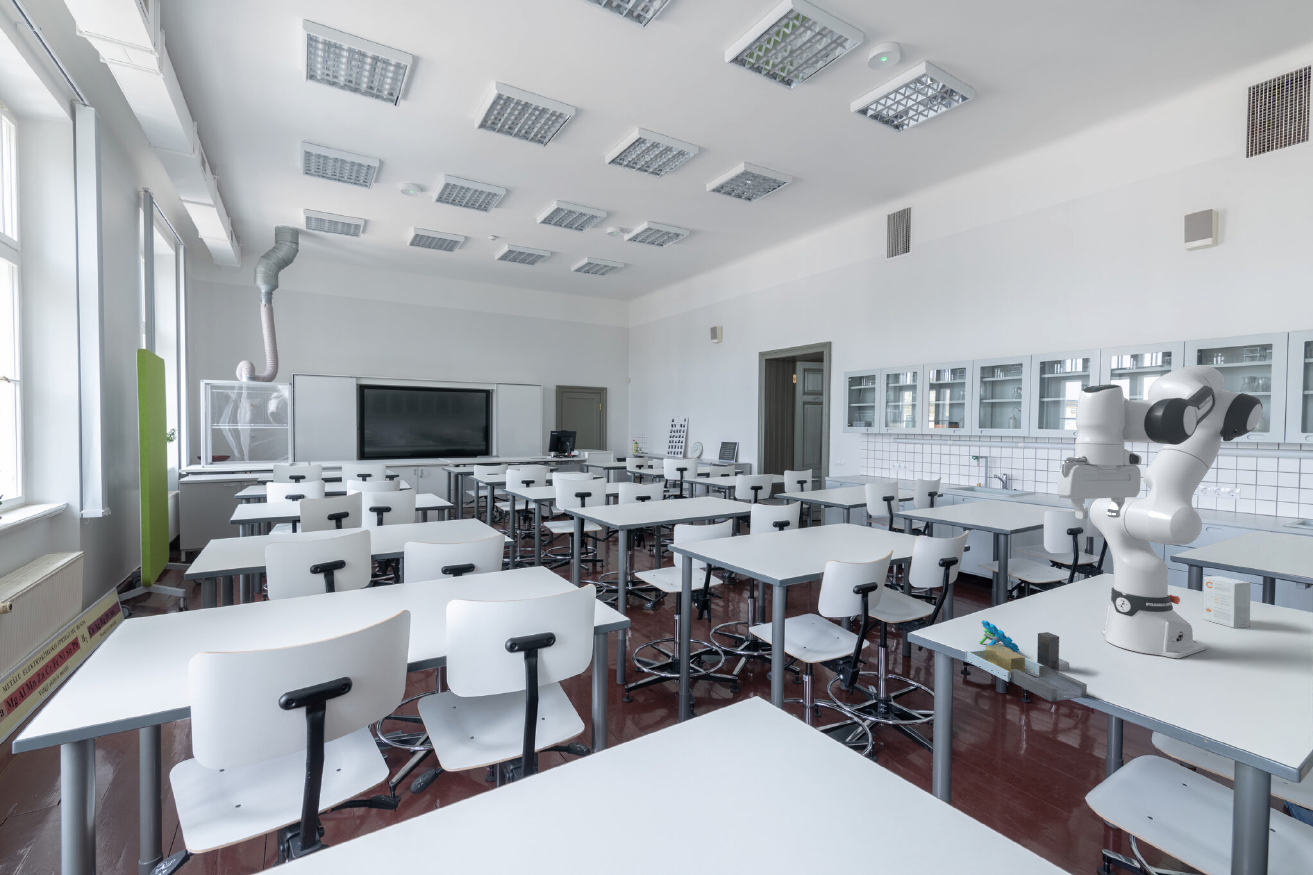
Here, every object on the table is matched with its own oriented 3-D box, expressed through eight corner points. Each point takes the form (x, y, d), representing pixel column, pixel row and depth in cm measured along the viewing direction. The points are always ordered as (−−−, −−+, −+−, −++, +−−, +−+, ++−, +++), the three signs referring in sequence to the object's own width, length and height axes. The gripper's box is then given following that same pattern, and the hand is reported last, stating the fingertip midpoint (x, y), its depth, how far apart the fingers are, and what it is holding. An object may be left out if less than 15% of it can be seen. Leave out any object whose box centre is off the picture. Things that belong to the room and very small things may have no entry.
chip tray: (1002, 656, 146) (1002, 647, 146) (1047, 677, 134) (1047, 667, 134) (965, 661, 143) (965, 651, 143) (1007, 682, 131) (1007, 672, 131)
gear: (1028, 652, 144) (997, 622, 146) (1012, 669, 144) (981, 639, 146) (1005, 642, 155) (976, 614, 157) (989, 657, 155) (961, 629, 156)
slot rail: (1044, 677, 134) (1044, 665, 133) (1086, 697, 124) (1086, 684, 124) (1010, 682, 131) (1010, 669, 131) (1051, 702, 121) (1051, 689, 121)
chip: (1010, 667, 139) (1010, 650, 139) (1024, 674, 135) (1025, 657, 135) (996, 668, 138) (996, 652, 138) (1010, 675, 134) (1011, 658, 134)
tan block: (998, 660, 143) (999, 644, 143) (1012, 666, 139) (1012, 650, 139) (985, 661, 142) (985, 645, 142) (998, 668, 138) (999, 651, 138)
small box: (1250, 627, 169) (1251, 582, 169) (1233, 628, 168) (1235, 583, 167) (1218, 618, 177) (1219, 575, 177) (1201, 619, 175) (1203, 576, 175)
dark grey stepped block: (1069, 670, 138) (1069, 637, 137) (1052, 673, 136) (1053, 639, 136) (1049, 662, 142) (1050, 630, 142) (1033, 664, 141) (1034, 631, 141)
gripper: (1076, 457, 125) (1075, 521, 126) (1147, 457, 131) (1146, 518, 131) (1049, 456, 131) (1048, 517, 132) (1118, 455, 137) (1117, 514, 137)
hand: (1097, 517), depth 131 cm, fingers open, 8 cm apart
